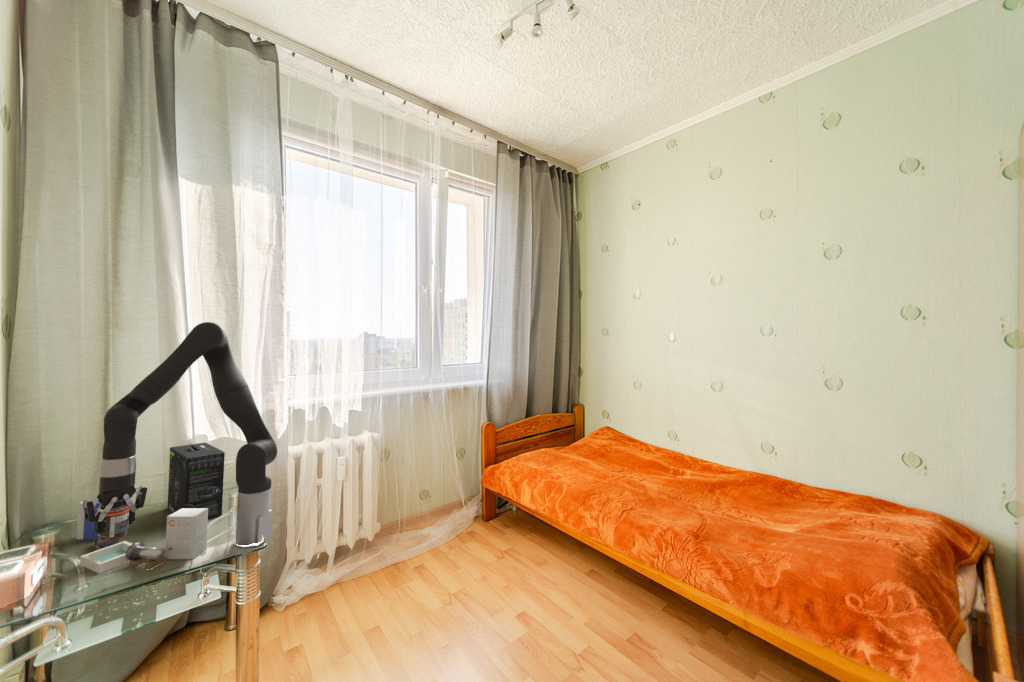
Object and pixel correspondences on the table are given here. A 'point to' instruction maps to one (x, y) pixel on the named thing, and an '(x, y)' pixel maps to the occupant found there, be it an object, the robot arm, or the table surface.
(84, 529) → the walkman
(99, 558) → the shallow white dish
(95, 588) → the table surface
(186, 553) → the small box
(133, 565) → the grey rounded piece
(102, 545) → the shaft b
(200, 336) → the robot arm
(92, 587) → the table surface
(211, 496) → the headset box
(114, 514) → the supplement bottle
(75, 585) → the table surface
